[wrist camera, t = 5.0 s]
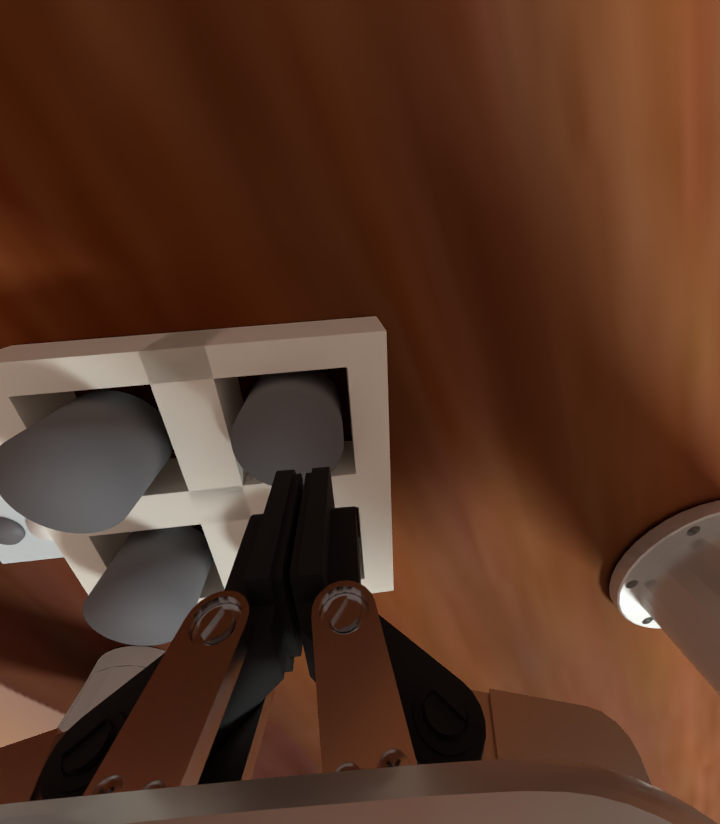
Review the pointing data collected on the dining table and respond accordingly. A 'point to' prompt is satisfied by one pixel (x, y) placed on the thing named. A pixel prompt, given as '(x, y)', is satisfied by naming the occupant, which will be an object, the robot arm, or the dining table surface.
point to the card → (23, 538)
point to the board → (215, 429)
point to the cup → (109, 679)
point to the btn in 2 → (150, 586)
